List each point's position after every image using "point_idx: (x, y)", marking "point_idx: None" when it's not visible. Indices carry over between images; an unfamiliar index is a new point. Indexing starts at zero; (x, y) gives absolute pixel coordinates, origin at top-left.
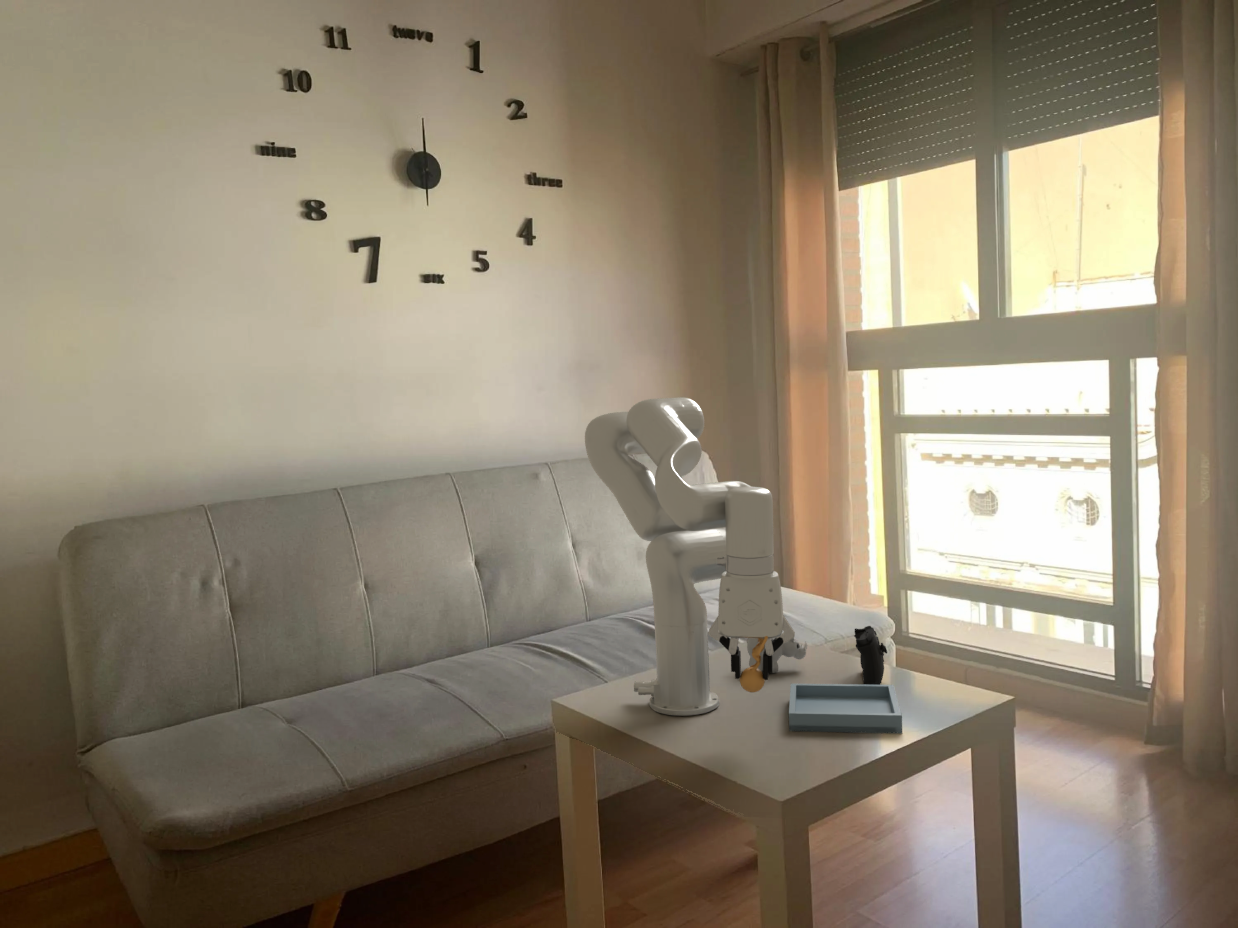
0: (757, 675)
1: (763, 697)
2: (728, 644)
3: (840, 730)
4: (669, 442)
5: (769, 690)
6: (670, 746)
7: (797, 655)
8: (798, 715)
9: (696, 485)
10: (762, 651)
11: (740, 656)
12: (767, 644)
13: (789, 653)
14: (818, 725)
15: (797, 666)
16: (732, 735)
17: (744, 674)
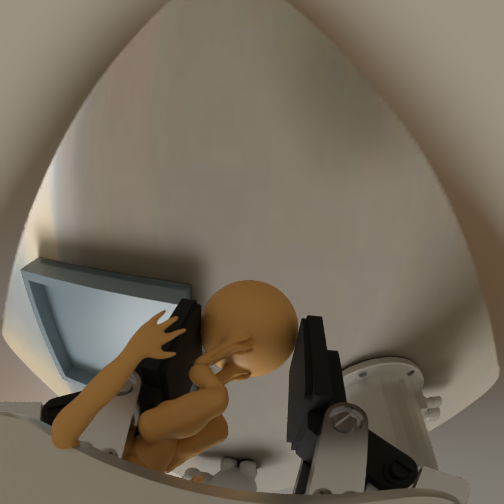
0: (221, 315)
1: (240, 412)
2: (366, 454)
3: (104, 271)
4: None
5: (231, 427)
6: (437, 217)
7: (194, 471)
8: (161, 298)
9: None
10: (236, 481)
11: (289, 418)
12: (113, 419)
13: (203, 475)
14: (133, 281)
15: (200, 462)
16: (310, 269)
17: (280, 328)
